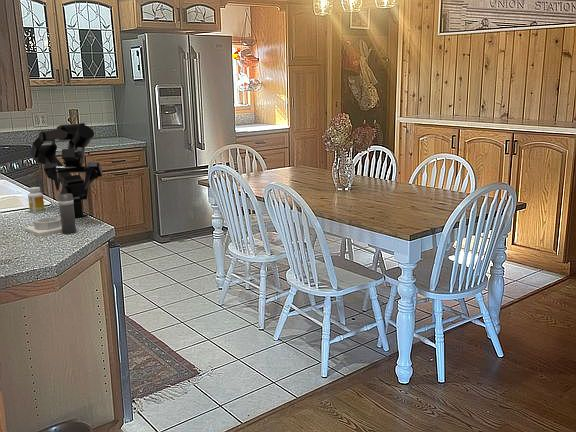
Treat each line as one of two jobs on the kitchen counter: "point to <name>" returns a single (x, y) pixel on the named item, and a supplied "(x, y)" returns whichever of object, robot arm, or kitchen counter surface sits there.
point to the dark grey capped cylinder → (67, 213)
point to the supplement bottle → (36, 200)
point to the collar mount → (45, 226)
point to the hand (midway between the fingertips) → (71, 189)
